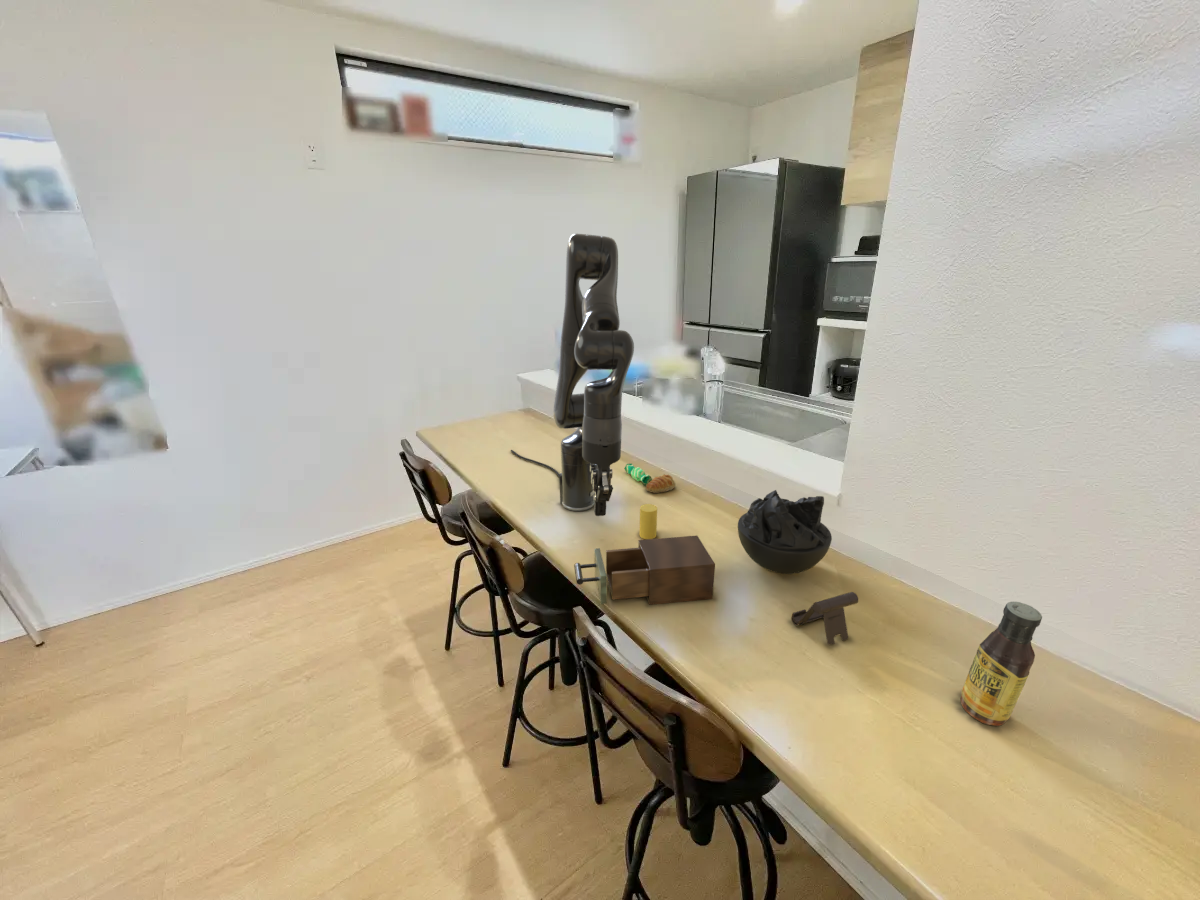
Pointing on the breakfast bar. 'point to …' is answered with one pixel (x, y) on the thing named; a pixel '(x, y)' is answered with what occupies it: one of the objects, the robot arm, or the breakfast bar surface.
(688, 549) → the cabinet
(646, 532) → the canister
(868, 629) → the breakfast bar surface
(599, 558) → the drawer
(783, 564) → the coal bowl
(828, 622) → the tablet stand
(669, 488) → the pastry
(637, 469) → the candy
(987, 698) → the sauce bottle
